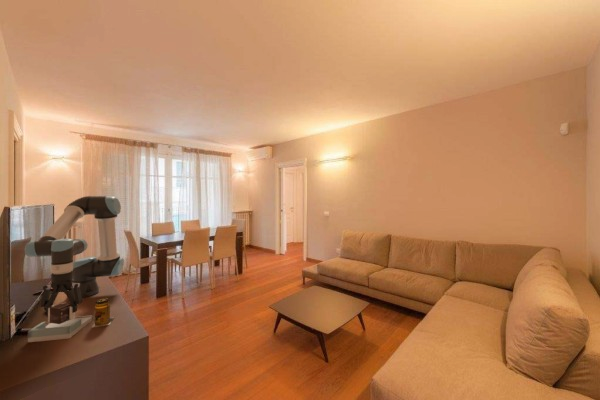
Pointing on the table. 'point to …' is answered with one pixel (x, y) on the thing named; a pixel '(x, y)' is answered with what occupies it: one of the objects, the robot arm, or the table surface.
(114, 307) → the table surface
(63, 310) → the box
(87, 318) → the tray
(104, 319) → the condiment
